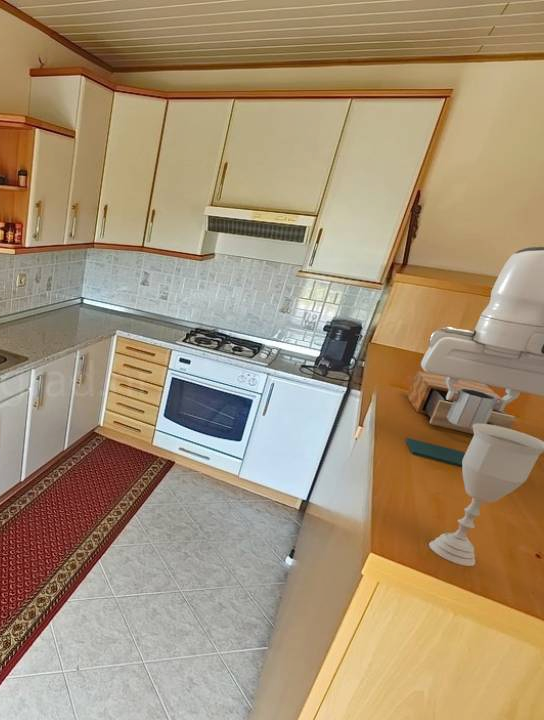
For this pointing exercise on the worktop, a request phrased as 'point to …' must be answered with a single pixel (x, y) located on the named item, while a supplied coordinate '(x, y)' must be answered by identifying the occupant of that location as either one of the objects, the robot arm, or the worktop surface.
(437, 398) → the wooden drawer box
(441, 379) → the wooden drawer cabinet
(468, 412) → the gray faceted container
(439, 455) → the mat
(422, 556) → the worktop surface
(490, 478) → the chalice
